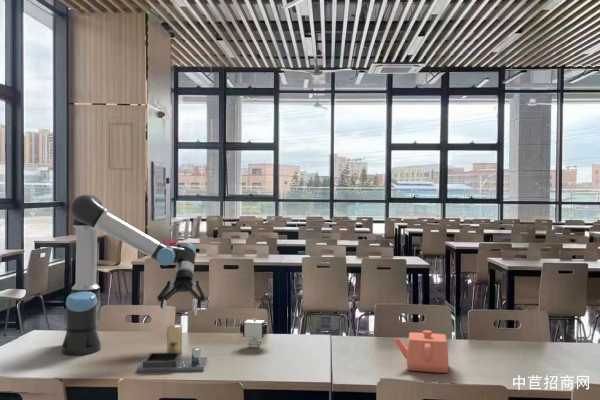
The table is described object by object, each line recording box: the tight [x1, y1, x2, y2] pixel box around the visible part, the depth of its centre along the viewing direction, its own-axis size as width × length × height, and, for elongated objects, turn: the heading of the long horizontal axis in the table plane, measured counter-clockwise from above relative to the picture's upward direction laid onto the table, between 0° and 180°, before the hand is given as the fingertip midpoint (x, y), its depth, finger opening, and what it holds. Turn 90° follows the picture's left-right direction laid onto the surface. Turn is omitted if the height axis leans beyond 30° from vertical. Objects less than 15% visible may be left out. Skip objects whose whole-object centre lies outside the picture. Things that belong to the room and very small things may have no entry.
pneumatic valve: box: [239, 318, 270, 349], centre depth 230 cm, size 6×12×12 cm, turn 80°
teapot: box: [393, 329, 449, 374], centre depth 201 cm, size 20×22×14 cm
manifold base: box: [136, 347, 208, 373], centre depth 202 cm, size 24×12×6 cm, turn 93°
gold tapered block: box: [166, 323, 183, 357], centre depth 216 cm, size 6×6×12 cm
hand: (179, 314), depth 226 cm, fingers open, 13 cm apart
